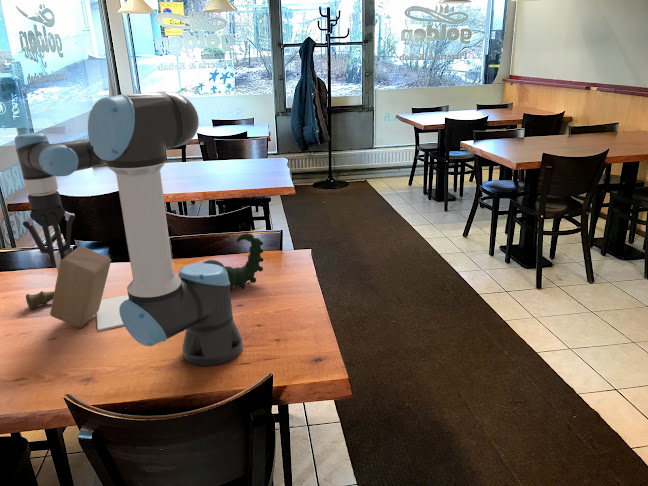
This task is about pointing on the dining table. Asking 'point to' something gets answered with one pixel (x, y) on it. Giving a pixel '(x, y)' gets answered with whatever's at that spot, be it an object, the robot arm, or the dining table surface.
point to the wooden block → (79, 286)
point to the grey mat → (110, 313)
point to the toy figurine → (248, 271)
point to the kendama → (39, 299)
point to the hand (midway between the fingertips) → (61, 273)
